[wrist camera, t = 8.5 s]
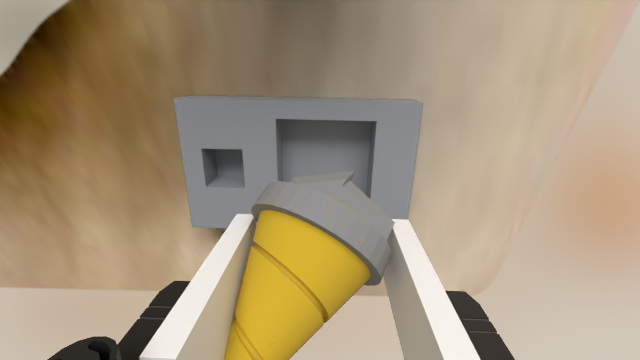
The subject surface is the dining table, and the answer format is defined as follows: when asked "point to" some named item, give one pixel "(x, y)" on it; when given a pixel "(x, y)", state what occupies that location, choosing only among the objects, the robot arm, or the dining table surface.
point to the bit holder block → (293, 149)
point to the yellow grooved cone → (305, 262)
